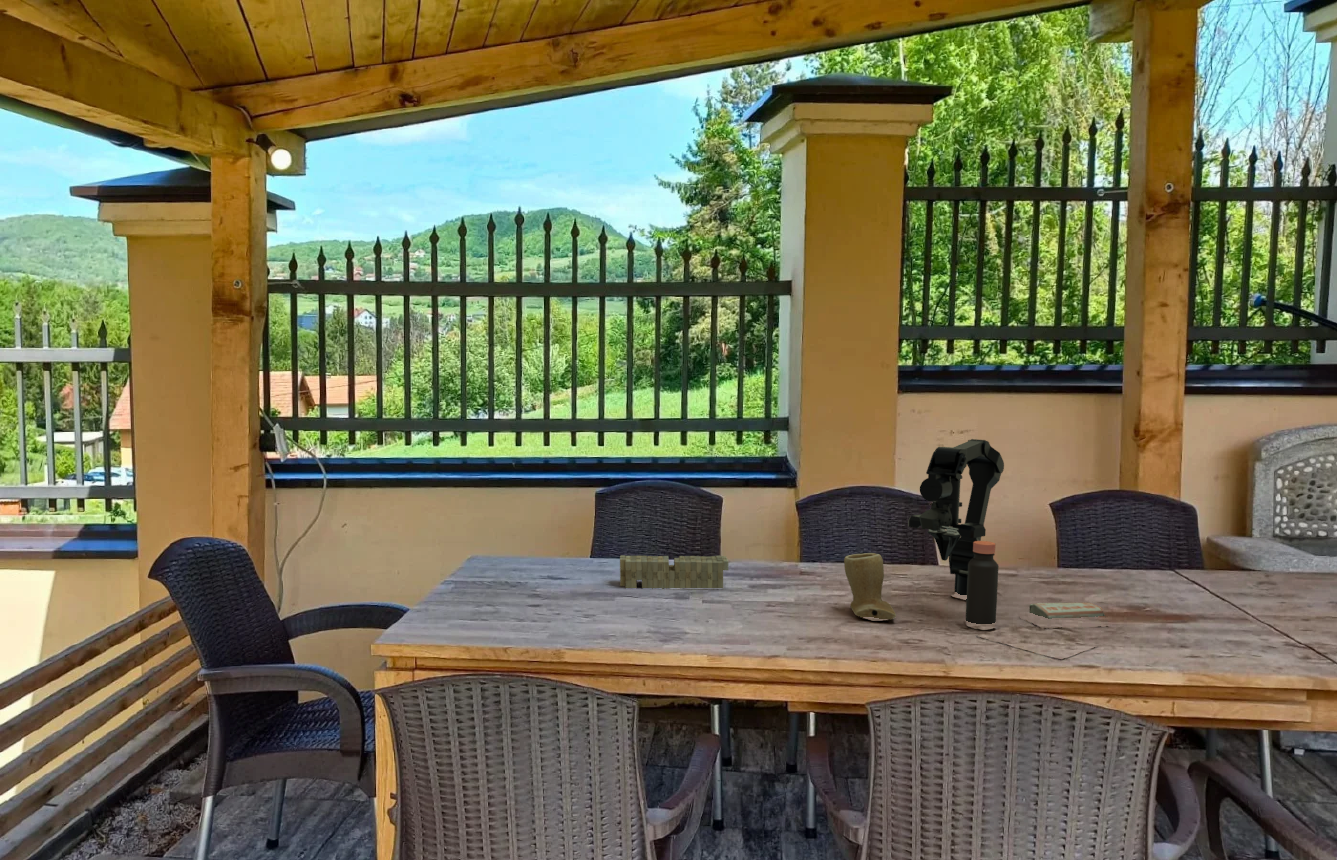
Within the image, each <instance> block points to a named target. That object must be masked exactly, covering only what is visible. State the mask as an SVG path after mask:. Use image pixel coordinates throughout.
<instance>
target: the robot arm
mask: <svg viewBox="0 0 1337 860" xmlns="http://www.w3.org/2000/svg"><path fill="white" fill-rule="evenodd" d="M966 467H968V474H969V477H970V480H971V482H972V485H971V486H972V487H971V491H970V496H969V499H968V500H969V502H968V505H967V511H966V515H965V516H966V517H965V520H964V523H962V518H960V517H959V513H960V508H962V507H963V502H961V501H960V497H961V495H960V493H961V479H963V475H962V474H963V473H964V471H965V469H966ZM1004 470H1005V462H1004V459H1003V456H1002V455H1001V453H1000V452H999V451H997V450H996V448H993V447H992V446H991V444H990V442H989V440H986V439H977V438H976V439H973V438H971V439H968V440H967V441H965V442H963V443H961V444H958V445H956V446H953V447H950V446H938V447H936V448H935V451H933V453H932V455H931V458H930V460H929V464H928V467H927V470H926V475H927V476H928V477H927V478H925V479H923V481H922V482H921V484H920V486H919V492H920V493H919V494H920V496H921V497H922V498H923V499H924V500H925V501H927V502H931V505H930V509H927V510H926V511H924V512H923V513H922V514H916V515H915V514H914V515H910V517H909V519H908V522H907V524H908V525H907V526H908V527H910V528H913V529H920V528H921V529H922V530H926V529H927V530H928V531H927V534H928V535H931V537H933V538H934V540H935V543H936V546H937V549H938V552H939V555H940V559H941V561H947V560H948V565H949V573H950V575H954V592H957V593H958V594H960V595H967V578H968V563H969V561H970V560H971V559H973V558H974V553H973V542H975V541H982V537H985V536H986V528H985V520H986V517H987V510H988V506H989V500H990V496H991V491H992V489H993V487H995V486H996V485H997V484H998V483H999V481H1000V479H1001V475H1002V474H1003V472H1004ZM954 592H953V593H954Z"/></svg>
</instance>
